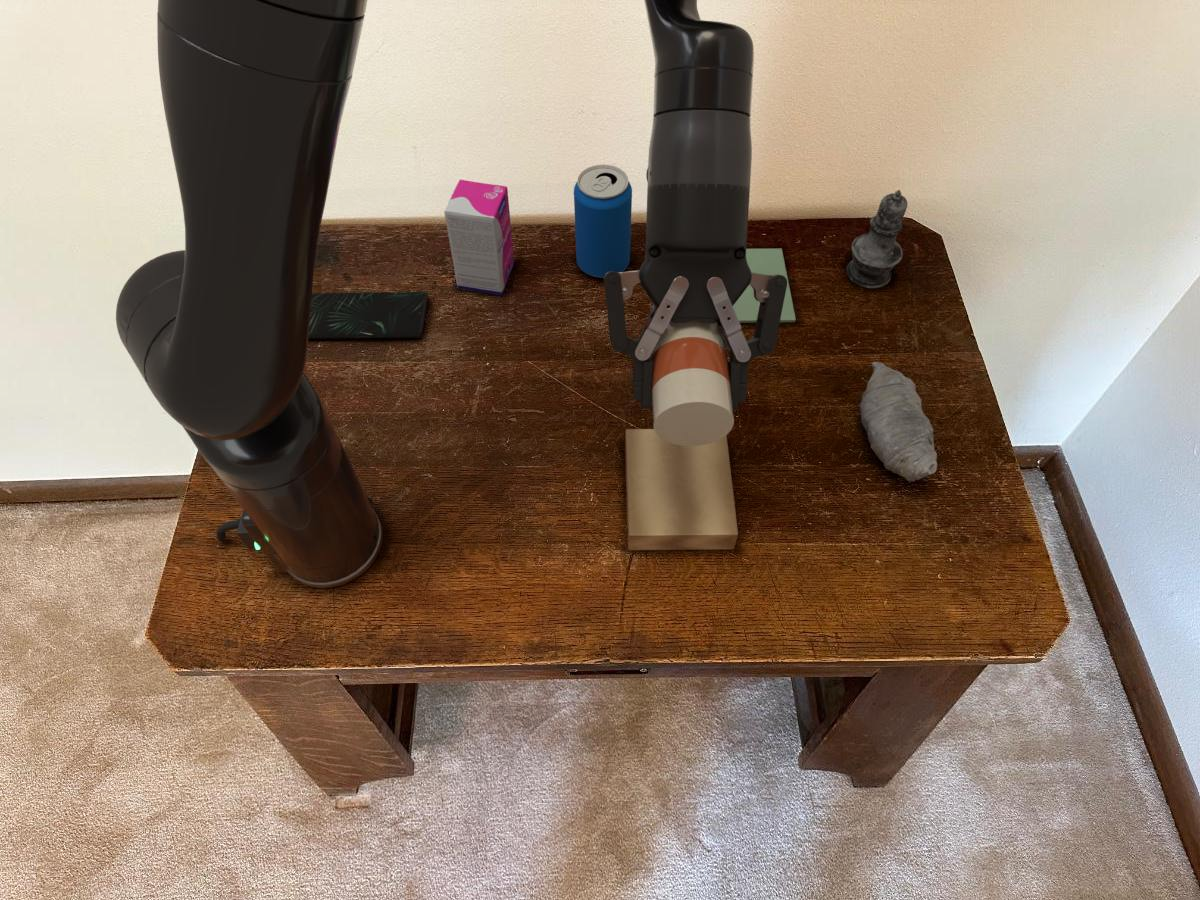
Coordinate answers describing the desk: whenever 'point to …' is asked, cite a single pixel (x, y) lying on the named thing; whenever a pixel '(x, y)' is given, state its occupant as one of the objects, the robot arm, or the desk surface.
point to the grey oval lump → (897, 424)
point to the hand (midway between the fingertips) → (688, 407)
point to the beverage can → (602, 220)
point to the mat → (768, 265)
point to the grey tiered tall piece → (879, 245)
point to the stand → (678, 494)
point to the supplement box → (480, 236)
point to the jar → (691, 384)
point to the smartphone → (367, 315)
